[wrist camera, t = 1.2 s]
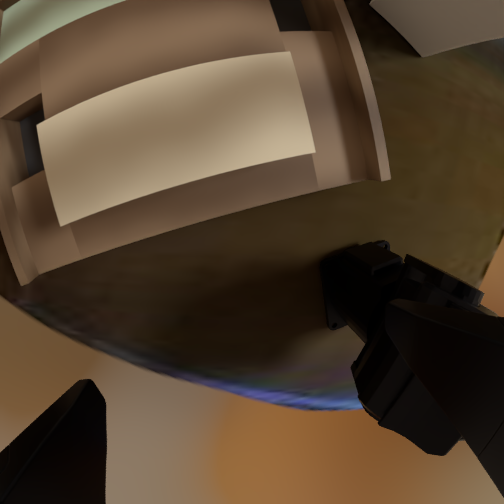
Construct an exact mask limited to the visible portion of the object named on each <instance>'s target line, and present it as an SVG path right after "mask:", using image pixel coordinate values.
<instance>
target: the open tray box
mask: <svg viewBox="0 0 504 504" xmlns="http://www.w3.org/2000/svg"><path fill="white" fill-rule="evenodd" d="M289 51H290V53H291V56H292V59H293V63H294V66H295V70H296V73H297V77H298V81H299V84H300V88H301V92H302V96H303V100H304V104H305V108H306V112H307V116H308V120H309V124H310V129H311V133H312V137H313V142H314V147H315V151H316V152H315V153H310V154H304V155H299V156H294V157H289V158H285V159H280V160H275V161H271V162H266V163H262V164H257V165H253V166H249V167H245V168H241V169H236V170H232V171H229V172H225V173H221V174H217V175H213V176H209V177H206V178H202V179H199V180H195V181H191V182H188V183H184V184H181V185H178V186H174V187H171V188H168V189H164V190H161V191H158V192H155V193H152V194H149V195H146V196H142V197H139V198H136V199H133V200H130V201H128V202H125V203H122V204H119V205H116V206H113V207H110V208H108V209H105V210H102V211H99V212H97V213H94V214H91V215H89V216H86V217H83V218H81V219H78V220H76V221H73V222H71V223H68V224H66V225H63V226H61V227H60V224H59V221H58V217H57V214H56V211H55V207H54V204H53V200H52V197H51V193H50V189H49V185H48V181H47V177H46V173H45V169H44V164H43V159H42V154H41V149H40V144H39V138H38V132H37V126H36V125H38V124H39V123H41V122H43V121H45V120H47V119H49V118H51V117H53V116H54V115H56V114H58V113H60V112H62V111H65V110H67V109H69V108H71V107H73V106H75V105H77V104H79V103H82V102H84V101H86V100H89V99H91V98H93V97H96V96H98V95H101V94H103V93H106V92H108V91H111V90H113V89H116V88H119V87H121V86H124V85H127V84H130V83H133V82H136V81H139V80H142V79H145V78H148V77H152V76H155V75H159V74H162V73H166V72H169V71H173V70H177V69H181V68H185V67H189V66H193V65H198V64H203V63H207V62H212V61H218V60H223V59H229V58H235V57H242V56H249V55H257V54H266V53H276V52H289ZM390 179H391V176H390V169H389V163H388V156H387V150H386V144H385V139H384V134H383V129H382V124H381V119H380V114H379V110H378V106H377V101H376V97H375V93H374V89H373V86H372V82H371V78H370V75H369V71H368V68H367V64H366V61H365V58H364V55H363V52H362V48H361V45H360V42H359V40H358V37H357V34H356V31H355V28H354V26H353V23H352V20H351V18H350V15H349V13H348V10H347V8H346V5H345V3H344V0H0V230H1V234H2V237H3V240H4V243H5V246H6V249H7V252H8V254H9V257H10V260H11V262H12V265H13V268H14V270H15V273H16V275H17V278H18V280H19V282H20V285H21V286H23V285H25V284H28V283H30V282H31V281H32V280H33V279H34V278H36V277H37V276H38V275H39V274H42V273H44V272H47V271H50V270H53V269H55V268H58V267H61V266H64V265H67V264H69V263H72V262H75V261H78V260H81V259H84V258H87V257H90V256H93V255H96V254H98V253H101V252H104V251H107V250H110V249H114V248H117V247H120V246H123V245H126V244H129V243H132V242H135V241H138V240H141V239H145V238H148V237H151V236H154V235H158V234H161V233H164V232H167V231H171V230H174V229H177V228H181V227H184V226H188V225H191V224H194V223H198V222H201V221H205V220H208V219H212V218H215V217H219V216H222V215H226V214H230V213H233V212H237V211H241V210H244V209H248V208H252V207H256V206H259V205H263V204H267V203H271V202H275V201H279V200H283V199H287V198H291V197H295V196H299V195H303V194H307V193H311V192H315V191H319V190H324V189H328V188H332V187H337V186H341V185H345V184H350V183H354V182H359V181H363V180H376V181H385V180H390Z"/></svg>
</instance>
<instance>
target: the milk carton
mask: <svg viewBox="0 0 504 504" xmlns="http://www.w3.org/2000/svg"><path fill="white" fill-rule="evenodd" d="M369 5H370V6H371V7H372V8H374V9H375V10H376V11H377V12H378V13H379V14H380V15H381V16H382V17H384V18H385V19H386V20H387V21H388V22H389V23H390V24H391V25H392V26H393V27H394V28H395V29H396V30H397V31H398V32H399V33H400V34H401V35H402V36H403V37H404V38H405V39H406V40H407V41H408V42H409V43H410V44H411V45H412V46H413V48H414V49H415V50H416V51H417V52H418V53H419V54H420V55H421V56H422V57H426V56H430V55H433V54H436V53H440V52H443V51H447V50H450V49H454V48H458V47H461V46H465V45H470V44H474V43H478V42H483V41H487V40H492V39H498V38H503V37H504V0H372V1H371V2H370V3H369Z"/></svg>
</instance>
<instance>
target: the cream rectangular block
mask: <svg viewBox="0 0 504 504" xmlns="http://www.w3.org/2000/svg"><path fill="white" fill-rule="evenodd" d="M36 126H37V132H38V138H39V144H40V149H41V154H42V159H43V164H44V169H45V173H46V177H47V181H48V185H49V189H50V193H51V197H52V200H53V204H54V207H55V211H56V214H57V217H58V221H59V224H60V227H61V226H63V225H66V224H68V223H71V222H73V221H76V220H78V219H81V218H83V217H86V216H89V215H91V214H94V213H97V212H99V211H102V210H105V209H108V208H110V207H113V206H116V205H119V204H122V203H125V202H128V201H130V200H133V199H136V198H139V197H142V196H146V195H149V194H152V193H155V192H158V191H161V190H164V189H168V188H171V187H174V186H178V185H181V184H184V183H188V182H191V181H195V180H199V179H202V178H206V177H209V176H213V175H217V174H221V173H225V172H229V171H232V170H236V169H241V168H245V167H249V166H253V165H257V164H262V163H266V162H271V161H275V160H280V159H285V158H289V157H294V156H299V155H304V154H310V153H315V152H316V151H315V147H314V142H313V137H312V133H311V129H310V124H309V120H308V116H307V112H306V108H305V104H304V100H303V96H302V92H301V88H300V84H299V81H298V77H297V73H296V70H295V66H294V63H293V59H292V56H291V53H290V51H289V52H276V53H266V54H257V55H249V56H242V57H235V58H229V59H223V60H218V61H212V62H207V63H203V64H198V65H193V66H189V67H185V68H181V69H177V70H173V71H169V72H166V73H162V74H159V75H155V76H152V77H148V78H145V79H142V80H139V81H136V82H133V83H130V84H127V85H124V86H121V87H119V88H116V89H113V90H111V91H108V92H106V93H103V94H101V95H98V96H96V97H93V98H91V99H89V100H86V101H84V102H82V103H79V104H77V105H75V106H73V107H71V108H69V109H67V110H65V111H62V112H60V113H58V114H56V115H54V116H53V117H51V118H49V119H47V120H45V121H43V122H41V123H39V124H38V125H36Z"/></svg>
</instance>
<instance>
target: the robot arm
mask: <svg viewBox="0 0 504 504" xmlns="http://www.w3.org/2000/svg"><path fill="white" fill-rule="evenodd" d="M384 245H385V247H384V248H383V246H384ZM404 262H405V263H403V258H402V257H400V256H399V255H397V254H395V253H393V252H391V251H390V244H389V243H388V242H387V241H385V240H382V241H379V242H376V243H372V242H369V243H366V244H363V245H360V246H357V247H354V248H350V249H347V250H345V252H344V253H343V254H340V255H337V256H333V257H330V258H327V259H324V260H323V261H322V262H321V263H320V272H321V279H322V286H323V294H324V301H325V309H326V318H327V325H328V327H329V329H331V330H336V329H339V328H341V327H344V326H346V325H348V326H349V327H350V328H351V329H352V330H353V331H354V332H355V333H356V334H357V335H358V336H359V337H360V338H361V340H362V341H363V342H364V343H365V346H364V347H363V349H362V351H361V353H360V354H359V356H358V358H357V360H356V361H354V362H353V364H352V365H351V371H352V374H353V377H354V381H355V384H356V388H357V391H358V399H359V401H360V402H361V404H362V406H363V408H364V409H365V411H366V412H367V413H368V414H369V415H370V416H371V417H373V418H374V419H376V420H377V421H378V424H379V425H380V426H381V427H384V428H387V429H390V430H392V431H395V432H396V433H398V434H400V435H402V436H404V437H406V438H407V439H408V440H410V441H411V442H413V443H414V444H415V445H417V446H418V447H419V448H421V449H422V450H423V451H424V452H426V453H427V454H432V455H439V456H444V455H446V454H447V453H448V452H449V451H450V450H451V449H452V448H453V446H454V445H455V444H456V443H457V442H458V441H464V440H465V441H466V443H467V444H468V445H469V447H470V448H471V449H472V451H473V452H474V454H475V455H476V456H477V458H478V460H479V461H480V463H481V464H482V466H483V467H484V469H485V470H486V472H487V473H488V475H489V476H490V478H491V479H492V481H493V482H494V484H495V485H496V487H497V488H498V490H499V491H500V493H501V494H502V496H503V497H504V317H499V316H498V315H497V314H496V313H494V312H493V311H491V310H490V309H488V308H486V307H484V306H483V305H481V304H480V303H481V300H482V298H483V296H484V293H483V292H481V291H480V290H478V289H476V288H475V287H473V286H471V285H470V284H468V283H466V282H464V281H462V280H460V279H459V278H457V277H455V276H453V275H451V274H449V273H447V272H445V271H443V270H441V269H439V268H437V267H434V266H432V265H430V264H428V263H426V262H424V261H422V260H419V259H417V258H415V257H413V256H411V255H409V254H406V257H405V259H404ZM326 264H328V267H327V268H325V265H326ZM333 323H335V324H334V325H332V324H333ZM106 455H107V431H106V402H105V399H104V397H103V396H102V394H101V393H100V391H99V389H98V388H97V387H96V385H95V383H94V382H93V381H92V380H91V379H83V380H79V381H78V382H76V383H75V384H74V385H73V386H72V387H71V388H70V389H68V390H67V391H66V392H65V393H64V394H63V395H62V396H61V397H60V398H59V399H58V400H56V401H55V402H54V403H53V404H52V405H51V406H50V407H49V408H48V409H46V410H45V411H44V412H43V413H42V414H41V415H40V416H39V417H38V418H37V419H36V420H35V421H33V422H32V423H31V424H30V425H29V426H28V427H27V428H26V429H25V430H24V431H23V432H22V433H21V434H19V436H17V437H16V438H15V439H14V440H13V441H12V442H11V443H10V444H9V445H8V446H7V447H6V448H5V449H3V450H2V451H1V452H0V504H106V502H105V487H106V486H105V483H106Z"/></svg>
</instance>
